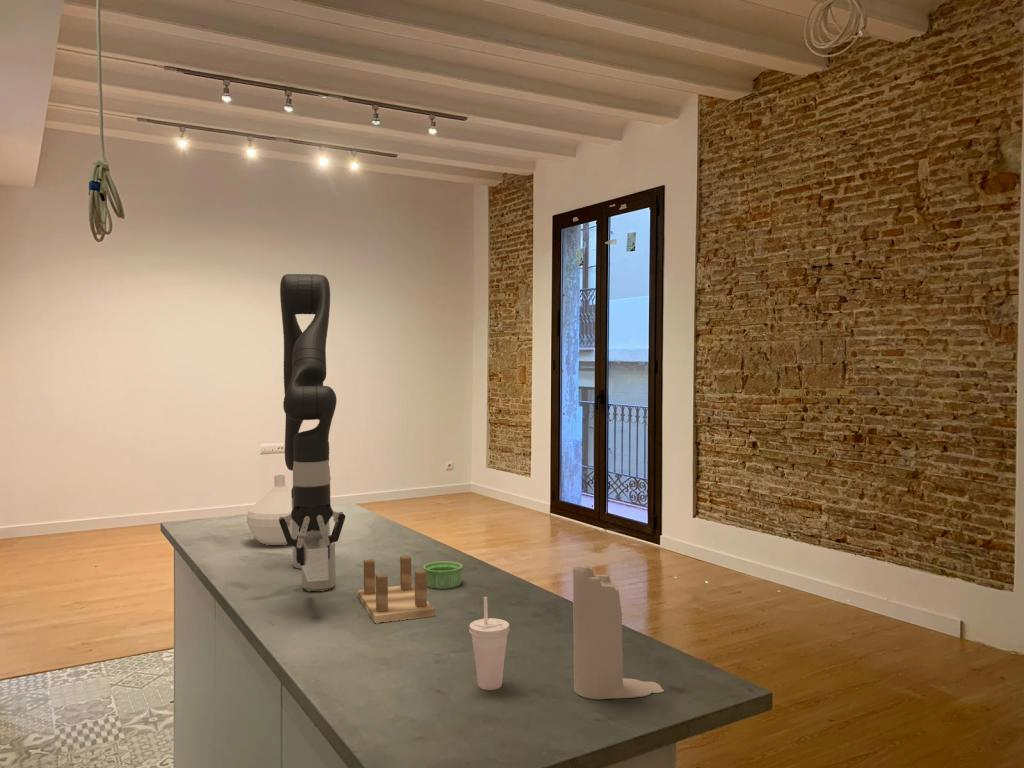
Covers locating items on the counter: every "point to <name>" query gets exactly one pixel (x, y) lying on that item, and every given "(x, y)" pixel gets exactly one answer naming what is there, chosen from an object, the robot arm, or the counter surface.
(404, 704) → the counter surface
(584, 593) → the candle
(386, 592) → the rack
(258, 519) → the vase
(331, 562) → the can
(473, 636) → the smoothie
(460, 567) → the ramekin
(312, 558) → the pale beige plank
